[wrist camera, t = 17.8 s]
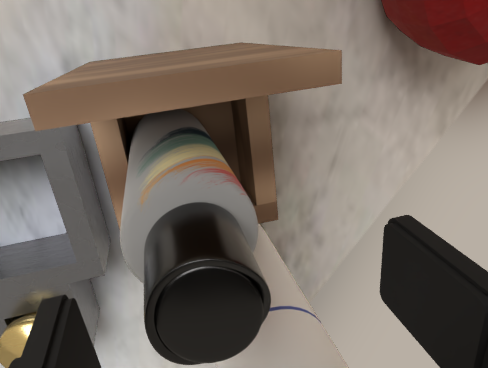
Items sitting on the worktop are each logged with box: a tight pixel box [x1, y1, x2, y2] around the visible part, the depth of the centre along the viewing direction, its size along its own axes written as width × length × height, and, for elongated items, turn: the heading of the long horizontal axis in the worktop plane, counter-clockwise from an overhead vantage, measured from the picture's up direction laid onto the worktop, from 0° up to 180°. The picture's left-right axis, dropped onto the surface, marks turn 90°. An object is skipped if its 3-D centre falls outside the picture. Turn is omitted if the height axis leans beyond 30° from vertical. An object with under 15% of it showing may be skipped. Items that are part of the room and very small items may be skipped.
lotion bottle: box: [120, 109, 271, 365], centre depth 20 cm, size 6×6×20 cm
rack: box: [23, 43, 342, 229], centre depth 22 cm, size 12×11×16 cm
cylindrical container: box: [216, 224, 348, 368], centre depth 23 cm, size 7×7×25 cm
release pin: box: [0, 312, 37, 368], centre depth 28 cm, size 4×4×6 cm
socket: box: [0, 118, 110, 347], centre depth 27 cm, size 18×11×5 cm, turn 6°
